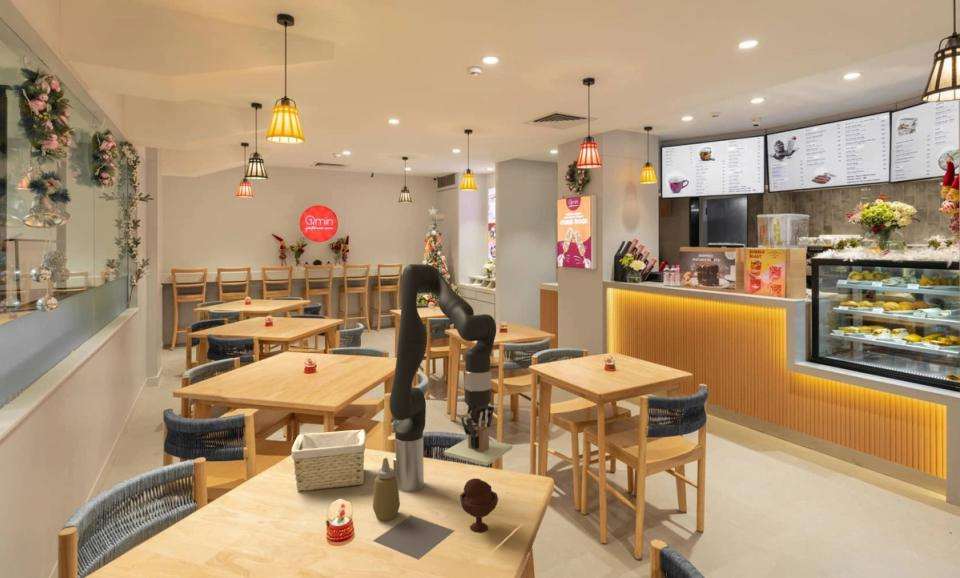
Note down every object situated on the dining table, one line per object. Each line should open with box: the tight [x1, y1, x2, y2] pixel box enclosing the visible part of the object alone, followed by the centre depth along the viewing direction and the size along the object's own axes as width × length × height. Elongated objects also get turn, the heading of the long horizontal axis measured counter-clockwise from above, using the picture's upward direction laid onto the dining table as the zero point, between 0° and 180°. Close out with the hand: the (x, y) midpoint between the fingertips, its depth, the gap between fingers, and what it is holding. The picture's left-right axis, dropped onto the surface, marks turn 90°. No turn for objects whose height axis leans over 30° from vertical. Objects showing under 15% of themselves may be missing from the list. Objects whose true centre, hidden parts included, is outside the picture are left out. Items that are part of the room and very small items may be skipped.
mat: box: [372, 514, 455, 561], centre depth 144 cm, size 16×16×1 cm
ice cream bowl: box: [459, 478, 499, 534], centre depth 147 cm, size 11×11×15 cm
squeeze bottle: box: [372, 457, 401, 522], centre depth 154 cm, size 8×8×18 cm
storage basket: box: [291, 428, 367, 491], centre depth 180 cm, size 24×16×15 cm
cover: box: [443, 426, 513, 467], centre depth 146 cm, size 14×14×7 cm
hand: (478, 445), depth 146 cm, fingers closed on cover, 3 cm apart
